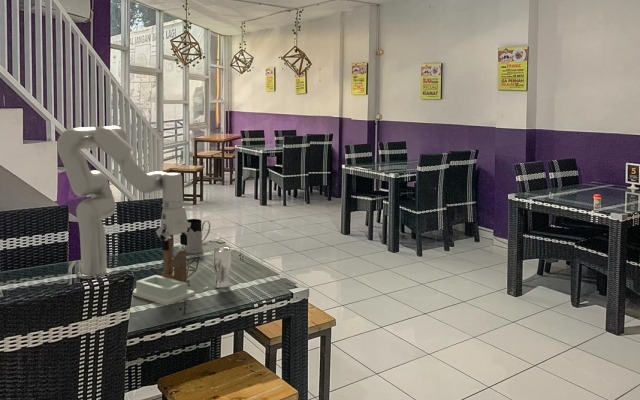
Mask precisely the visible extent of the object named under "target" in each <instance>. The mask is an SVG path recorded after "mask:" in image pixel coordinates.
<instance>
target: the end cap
mask: <svg viewBox="0 0 640 400" xmlns="http://www.w3.org/2000/svg"><path fill="white" fill-rule="evenodd" d="M133 289H134V291H133V295H132V296H135V297H138V298H141V299H144V300H148V301H151V302H153V303H157V304H160V305H164V306H169V305H172V304H174V303H176V302H178V301H181V300H184V299H186V298H187V299H188V298H189V297H192V296H194V295H196V291H195V290H191V289H188V282H187V283H185V282H181V281H178V280H174V279H170V278H166V277H163V276H162V275H159V274H154V275H151V276H148V277H145V278H142V279H138V280H135V288H133Z"/></svg>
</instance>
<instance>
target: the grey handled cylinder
mask: <svg viewBox="0 0 640 400" xmlns="http://www.w3.org/2000/svg"><path fill="white" fill-rule="evenodd" d="M187 222H190V223H191V226H190V230H189V232H188V235H187V245H184V246H185V247H184V248H185V249H184V250H186V254H199V253H203V252H204V250H203V242H204V241H205V240H206V238H207V237H208V235H209V233H210V231H211V223H210V221H209V220H205V221H203V222H202V219H199V218H187ZM206 222H207V223H208V230H207V233H206V235H205V236H204V238H203V231H204V225H205V223H206Z"/></svg>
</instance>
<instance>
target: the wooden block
mask: <svg viewBox="0 0 640 400" xmlns="http://www.w3.org/2000/svg"><path fill="white" fill-rule="evenodd" d="M168 241H169V251H165V250H162V259H163V261H162V262H163V265H162V267H163V271H162V272H161V276H163V277H166V278H170V279H174V280H178V281H181V282H185V283H187V284H188V281H187V278H188V277H187V275H188V273H187V253H186V250H185V249H183V250H180V251H178V252H177V254H176V255H175V256H174V257H173V237H172V236H169V238H168Z"/></svg>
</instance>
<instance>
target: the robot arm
mask: <svg viewBox="0 0 640 400" xmlns="http://www.w3.org/2000/svg"><path fill="white" fill-rule="evenodd" d="M127 140H128V139H127V133H126V131H125V130H124V129H123V128H122V127H120V126H118V125H109V126H108V125H107V126H106V125H105V126H83V127H82V126H81V127H73V128H68V129H66V130H63V131H62V132H61V134H60V135H59V136H58V139H57V143H56V148H57V153H58V155H59V157H60V160H61V162H62V164H63V167H64V170H65V173H66V177H67V178H68V181H69V182H68V183H69V184H70V187H71V191H72V192H73V194H74V195H75V196H78V197H87V196H90V197H89V198H87V199H84V200H83V201H81V202H80V203H79V204H78V205H77V207H76V210H75V211H76V212H75V213H76V214H75V215H76V219H77V223H78V228H79V240H80V242H79V243H80V263H78V264H77V267H78V268H80V271H78V272H77V277H78V278H79V279H82V280H83V279H84V280H92V279H91V278H95V277H82V276H79V275H80V273H81V275H82V274H84V275H96V274H102V273H105V272H107V273H109V272H110V273H109V274H107V275H108V276H110V275H111V273H112V270H111V269H110V268H108V266H107V265H108V262H107V243H106V242H107V241H106V240H107V239H106V229H105V225H104V223H103V221H102V220H104V219H107V218H109V217H112V216H113V215H114V214H115V212H116V207H117V205H116V201H115V198H114V194H113V191H112V189H111V187H110V184H109V180H108V178H107V176H106V175H105V174H104V173H102V172H101V171H99V170H94V169H93V170H90V167H89V165H88V161H87V159H86V157H85V156H84V155H83V154H82V152H81V150H85V149H93V148H100V149H101V150H102V152H104V153H105V154H106V155H108V156H109V158H111V159H112V160H113V161H114V162H115V163H116V164H117V165H118V166H119V169H120V171H121V174H122V175H123V178H124V179H125V180H126V181H127V182H128V183H129V184H130V185H131V186H132V187H133V188H134V189H136V190H137V191H138V192H141V193H143V194H152V193H154V192H158V191H161V192H162V204H161V207H162V211H161V219H160V221H161V223H160V224H161V225H160V227H158V229H156V230H155V233H156V235H157V237H158V239H159V240H160V241H161V250H162V251H163V250H165V251H169V241H168V238H169V237H171V236H174V235H175V236H176V235H179V234H180V236H179V238H180V239H179V241H180V245H181V246H185V245H187V235H188V232H189V230H190V226H191V223H190V222H187V220H188V215H187V211H186V207H185V206H184V197H183V175H182V174H181V173H178V172H164V171H156V170H155V171H151V172H148V173H146V172H145V171H144V170H143V169H142V168H141V167H140V166H139V165H138V164H137V162H136V161H135V156H136V154H137V152H136V150H135V148H134V147H133V146H132V145H131V144H130V143H128V142H127ZM78 274H79V275H78ZM103 275H104V274H103Z"/></svg>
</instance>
